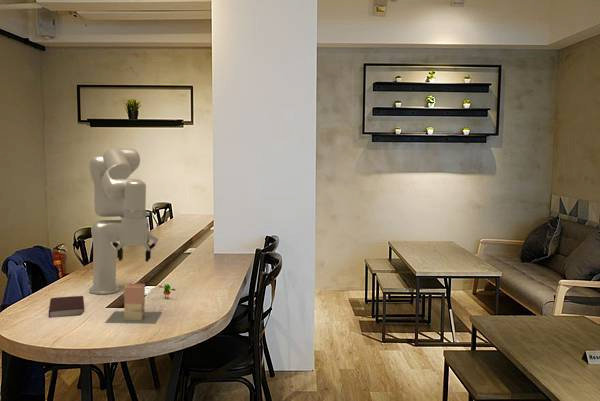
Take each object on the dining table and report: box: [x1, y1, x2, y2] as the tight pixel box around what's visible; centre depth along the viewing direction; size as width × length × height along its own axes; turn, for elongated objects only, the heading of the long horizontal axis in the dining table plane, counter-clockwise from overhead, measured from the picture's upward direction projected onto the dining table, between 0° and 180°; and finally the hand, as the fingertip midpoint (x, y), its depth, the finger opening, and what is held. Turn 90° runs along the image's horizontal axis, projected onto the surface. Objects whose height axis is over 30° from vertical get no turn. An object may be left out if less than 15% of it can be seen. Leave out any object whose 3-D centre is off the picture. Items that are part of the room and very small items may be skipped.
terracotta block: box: [123, 283, 146, 305], centre depth 200 cm, size 6×6×6 cm
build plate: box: [104, 310, 163, 325], centre depth 201 cm, size 14×18×1 cm
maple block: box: [123, 300, 146, 320], centre depth 201 cm, size 6×6×6 cm
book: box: [48, 295, 85, 318], centre depth 211 cm, size 12×19×3 cm, turn 23°
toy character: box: [157, 283, 176, 299], centre depth 232 cm, size 11×12×7 cm
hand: (134, 260), depth 200 cm, fingers open, 9 cm apart
